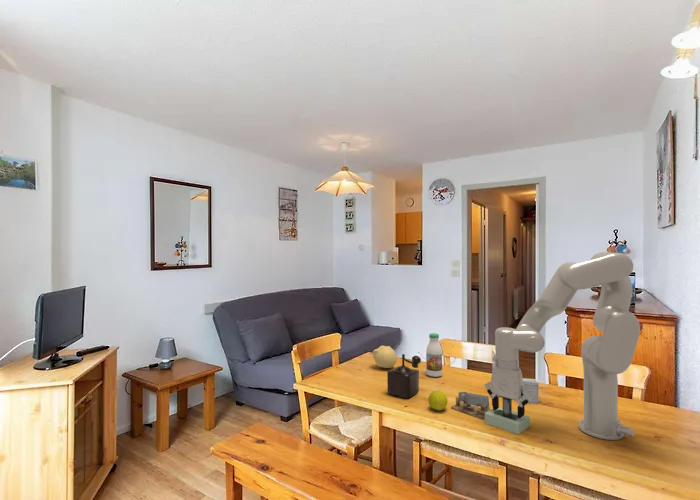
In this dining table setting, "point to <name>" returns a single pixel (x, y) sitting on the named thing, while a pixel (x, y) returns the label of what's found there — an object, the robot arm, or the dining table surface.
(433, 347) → the milk bottle
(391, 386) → the manual coffee grinder
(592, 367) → the robot arm
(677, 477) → the dining table surface
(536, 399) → the medicine box
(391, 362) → the beige rounded lump
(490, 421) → the slot block
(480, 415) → the peg rack
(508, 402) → the pin
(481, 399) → the spanner bar
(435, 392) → the tennis ball
